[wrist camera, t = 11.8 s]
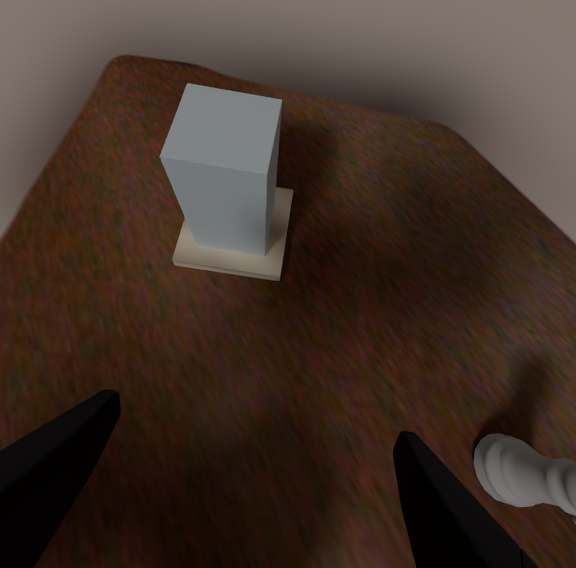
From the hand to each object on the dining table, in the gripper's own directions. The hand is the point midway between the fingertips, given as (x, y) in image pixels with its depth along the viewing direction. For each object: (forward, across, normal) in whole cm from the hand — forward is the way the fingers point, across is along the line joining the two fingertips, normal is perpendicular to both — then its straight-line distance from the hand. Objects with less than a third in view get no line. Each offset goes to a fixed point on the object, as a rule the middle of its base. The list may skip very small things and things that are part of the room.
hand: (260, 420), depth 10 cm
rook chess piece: (+9, -18, +11) cm, 23 cm away
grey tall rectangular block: (+19, +4, -2) cm, 20 cm away
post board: (+20, +5, -1) cm, 21 cm away
